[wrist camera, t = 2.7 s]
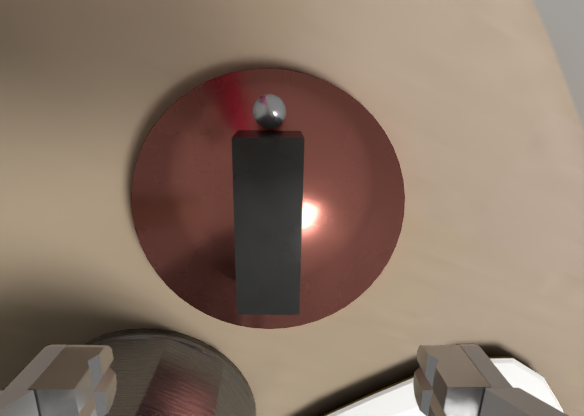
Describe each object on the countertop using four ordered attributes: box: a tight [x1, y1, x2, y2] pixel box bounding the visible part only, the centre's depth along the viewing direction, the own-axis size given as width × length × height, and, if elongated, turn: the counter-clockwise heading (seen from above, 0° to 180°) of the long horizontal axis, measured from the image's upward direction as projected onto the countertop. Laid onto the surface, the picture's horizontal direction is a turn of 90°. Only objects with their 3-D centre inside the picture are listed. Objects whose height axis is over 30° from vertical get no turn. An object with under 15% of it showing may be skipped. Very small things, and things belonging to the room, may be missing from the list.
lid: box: [131, 68, 405, 329], centre depth 20 cm, size 15×15×4 cm
